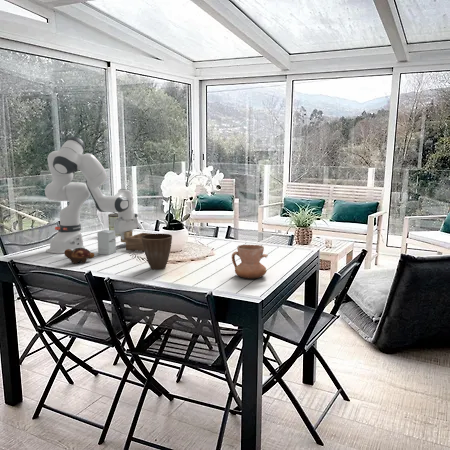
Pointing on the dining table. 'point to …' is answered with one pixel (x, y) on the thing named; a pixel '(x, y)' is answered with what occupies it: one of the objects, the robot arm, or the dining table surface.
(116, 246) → the rubber coaster
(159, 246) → the plant pot
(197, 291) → the dining table surface
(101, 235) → the supplement box
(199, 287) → the dining table surface
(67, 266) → the dining table surface
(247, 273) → the ceramic jug
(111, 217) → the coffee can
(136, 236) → the walnut caddy
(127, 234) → the oak block
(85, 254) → the decorative turtle
